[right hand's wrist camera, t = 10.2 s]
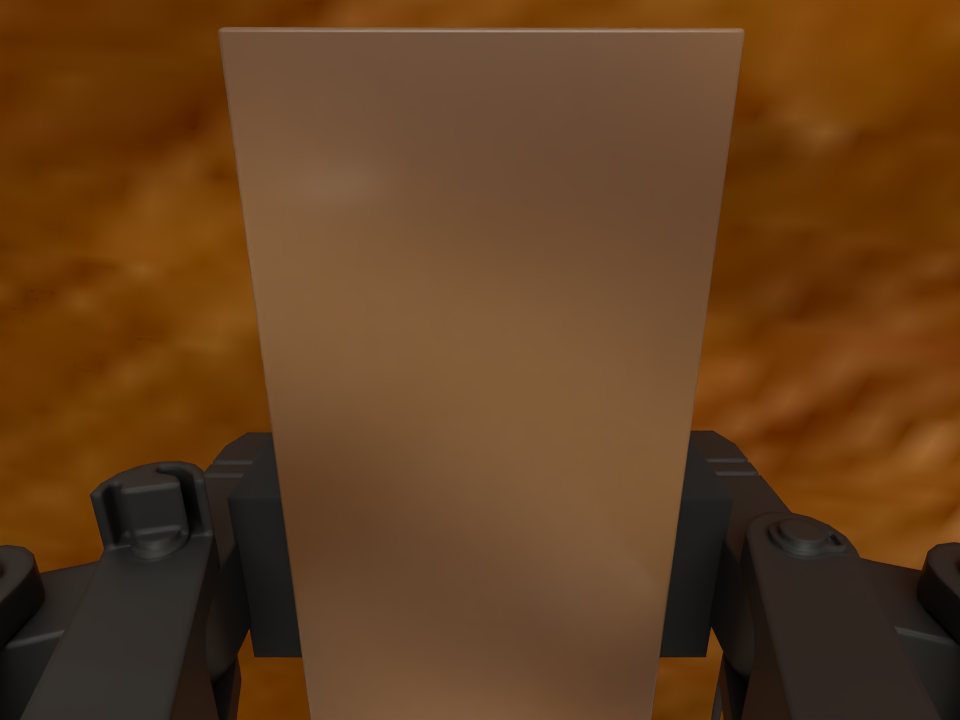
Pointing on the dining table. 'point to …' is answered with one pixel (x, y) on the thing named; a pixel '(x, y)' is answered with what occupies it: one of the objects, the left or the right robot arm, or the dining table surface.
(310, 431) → the bar
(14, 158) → the dining table surface
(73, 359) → the dining table surface
